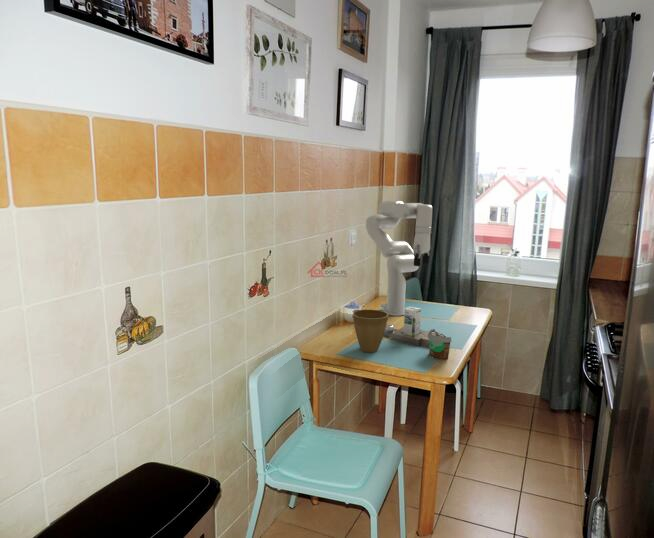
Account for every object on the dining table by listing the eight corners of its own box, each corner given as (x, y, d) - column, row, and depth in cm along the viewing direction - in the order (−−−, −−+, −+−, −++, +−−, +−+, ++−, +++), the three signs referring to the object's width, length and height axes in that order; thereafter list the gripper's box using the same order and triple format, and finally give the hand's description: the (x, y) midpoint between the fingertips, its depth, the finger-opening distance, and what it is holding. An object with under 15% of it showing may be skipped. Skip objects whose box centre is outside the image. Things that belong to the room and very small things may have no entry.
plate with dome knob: (377, 336, 240) (377, 328, 239) (390, 329, 251) (391, 321, 250) (417, 346, 229) (418, 337, 228) (430, 338, 239) (431, 329, 239)
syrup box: (402, 338, 238) (404, 308, 235) (409, 335, 242) (410, 305, 239) (413, 341, 234) (414, 310, 231) (419, 338, 239) (421, 308, 236)
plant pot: (393, 350, 223) (395, 314, 220) (370, 358, 213) (372, 320, 210) (367, 341, 233) (369, 306, 230) (344, 348, 223) (345, 312, 220)
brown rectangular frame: (390, 339, 236) (391, 331, 235) (404, 332, 247) (404, 324, 246) (433, 349, 224) (433, 340, 224) (445, 341, 235) (446, 333, 235)
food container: (420, 352, 221) (421, 330, 219) (432, 350, 223) (434, 328, 221) (437, 362, 210) (439, 339, 208) (450, 360, 212) (451, 337, 210)
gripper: (423, 227, 261) (421, 261, 265) (408, 230, 247) (406, 266, 251) (437, 229, 257) (435, 263, 260) (422, 232, 243) (420, 268, 247)
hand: (421, 264), depth 256 cm, fingers open, 9 cm apart
